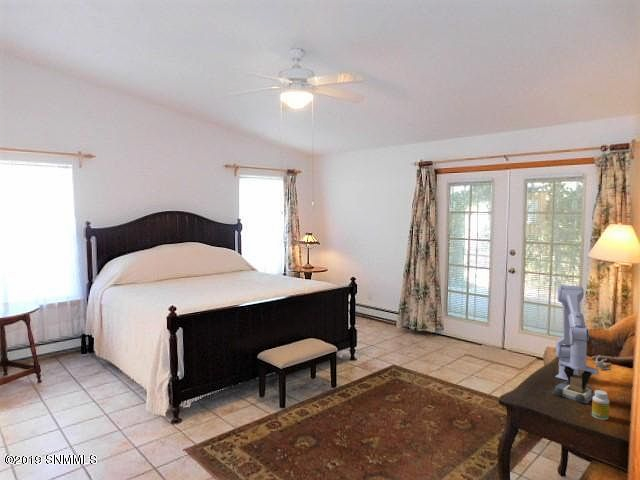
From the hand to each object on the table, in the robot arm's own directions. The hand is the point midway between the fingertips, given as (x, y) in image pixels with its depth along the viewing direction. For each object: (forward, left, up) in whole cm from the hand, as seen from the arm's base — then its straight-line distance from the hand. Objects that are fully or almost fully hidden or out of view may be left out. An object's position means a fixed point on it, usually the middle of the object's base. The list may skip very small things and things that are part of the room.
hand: (577, 386), depth 178 cm
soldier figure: (-46, -3, -5) cm, 47 cm away
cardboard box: (0, 0, -2) cm, 2 cm away
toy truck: (0, -1, -4) cm, 5 cm away
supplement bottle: (+13, +12, -4) cm, 18 cm away
